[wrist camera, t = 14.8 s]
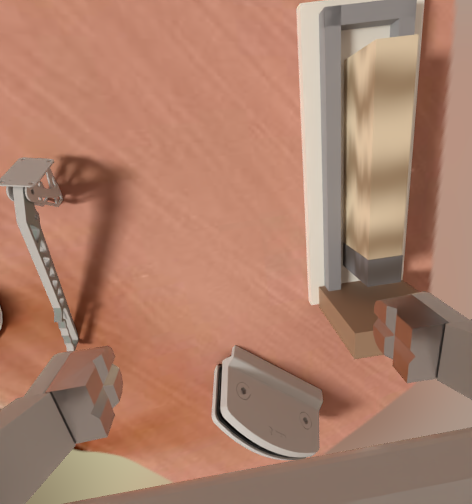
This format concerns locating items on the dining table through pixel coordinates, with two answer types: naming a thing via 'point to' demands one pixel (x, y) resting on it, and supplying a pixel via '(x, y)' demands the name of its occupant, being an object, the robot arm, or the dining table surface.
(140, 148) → the dining table surface
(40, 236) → the bracket
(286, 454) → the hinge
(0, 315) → the pudding
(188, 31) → the dining table surface
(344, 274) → the slot board
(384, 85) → the wooden block
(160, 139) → the dining table surface
